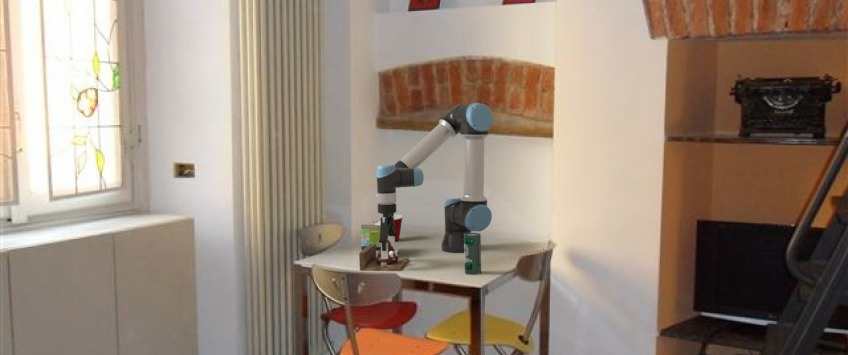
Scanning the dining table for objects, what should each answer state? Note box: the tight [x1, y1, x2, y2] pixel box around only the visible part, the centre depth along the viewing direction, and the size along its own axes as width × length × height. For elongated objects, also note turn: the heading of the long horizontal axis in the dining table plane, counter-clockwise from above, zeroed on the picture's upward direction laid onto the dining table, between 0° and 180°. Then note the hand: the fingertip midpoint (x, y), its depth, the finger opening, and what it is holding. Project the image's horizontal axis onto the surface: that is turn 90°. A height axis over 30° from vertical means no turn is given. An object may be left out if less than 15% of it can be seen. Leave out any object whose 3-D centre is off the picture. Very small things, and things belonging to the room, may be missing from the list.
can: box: [463, 232, 482, 275], centre depth 285 cm, size 6×6×15 cm
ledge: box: [358, 243, 410, 272], centre depth 303 cm, size 16×20×7 cm
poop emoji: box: [376, 240, 400, 265], centre depth 303 cm, size 10×8×9 cm
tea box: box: [360, 219, 389, 258], centre depth 323 cm, size 15×10×15 cm, turn 168°
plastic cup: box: [394, 214, 404, 243], centre depth 356 cm, size 11×11×12 cm
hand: (388, 255), depth 303 cm, fingers open, 13 cm apart
